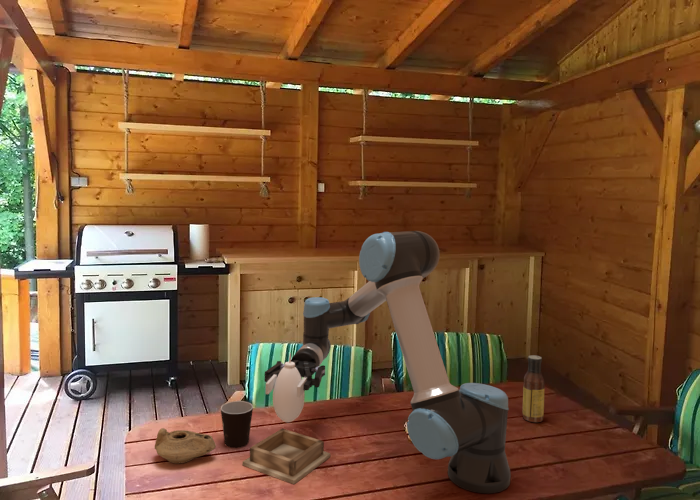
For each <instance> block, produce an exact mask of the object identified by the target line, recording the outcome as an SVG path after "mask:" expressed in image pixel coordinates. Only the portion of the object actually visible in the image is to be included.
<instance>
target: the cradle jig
mask: <svg viewBox="0 0 700 500" xmlns="http://www.w3.org/2000/svg"><path fill="white" fill-rule="evenodd" d="M324 443H325V442H324V440H320V439H318V438H315V437H311V436H308V435H304V434H302V433H299V432H295V431H293V430H288V429H285V428H280V429H279V430H277V431H276V432H274V433H271V434H270V435H269V436H267V437H265V438H263V439H262V440H261V441H259V442H257V443H256V444H254V445H252V446H251V447H249V456H248V458H246V459H245V460H243V461H242V466H243V467H244V468H245V467H246V468H249V469H252V470H253V471H257V472H259V473H262V474H265V475H268V476H269V477H274V478H276V479H278V480H281V481H284V482H286V483H289V484H292V485H295V484H297V483H298V482H299V481H301V480H302V479H303V478H305V477H306V476H307V475H308V474H310V473H311V472H312V471H315V469H316V468H318V467H319V466H320V465H322V464H323V463H324V462H326V461H327V460H329V459H330V458H331V453H330V452H327V451H324V449H325V447H324Z"/></svg>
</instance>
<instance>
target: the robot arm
mask: <svg viewBox="0 0 700 500" xmlns="http://www.w3.org/2000/svg"><path fill="white" fill-rule="evenodd" d="M439 261H440V249H439V245H438V243H437V242H436V240H435V239H434V238H433V237H432V236H431V235H429V234H428V233H426V232H423V231H420V230H410V231H409V230H408V231H394V232H393V231H392V232H390V231H383V232H380V233H374V234H371V235H370V236H368V237H367V238H366V239H365V241H364V242H363V244H362V245H361V249H360V251H359V257H358V264H359V265H358V266H359V270H360V272H361V274H362V276H363V277H364V278H365V280H367V282H366V283H365V284H363V286H361V287H360V288H359V289H357V291H355V292H354V293H353V294H351V296H349V297H348V298H347V299H345V300H342V301H341V300H340V301H335V302H330V300H329V299H328V298H326V297H316V296H315V297H309V298H307V299H306V300H304V303H303V304H304V305H303V312H302V313H303V333H302V346H301V347H300V348H299V349H298V350H297V351H296V352H295V354H293V356H291V362H294V363H295V367H296V368H297V370H298V371H299V373H300V376H301V378H302V381H301V382H300V383H299V385H298V386H297V397H298V398H300V397H301V395H302V394H303V392H304V393H305V391H309V390H310V388H312V387H313V386H314V387H315V388H319V387H320V386H321V382H322V378H323V377H324V376H325V375H326V365H321V364H323V362H324V360H325V359H327V357H328V355H329V354H330V351H331V346H332V344H331V342H330V340H329V331H330V329H333V328H340V327H344V326H351V325H359V324H361V323H365V322H366V321H368V320H369V316H370V314H371V312H373V311H374V310H376V308H378V307H380V306H381V305H383V304H384V303H385V302H386V303H387V304H386V305H387V306H388V310H389V313H390V317H391V319H392V323H393V327H394V331H395V334H396V336H397V341H398V343H399V346H400V351H401V353H402V356H403V361H404V364H405V366H406V369H407V374H408V377H409V380H410V383H411V386H412V387H411V388H412V391H413V396H412V398H411V400H410V406H411V410H412V412H411V413H410V414H409V415H408V418H407V420H408V421H407V423H406V430H407V434H408V436H409V439H410V441H411V442H412V444H413V446H414V447H415V448H416V450H417V451H419V452H420V453H422V454H423V456H425V457H426V458H429V459H432V460H441V459H445V458H448V457H450V459H449V461H448V464H447V475H448V479H449V480H450V481H451V482H452V483H453V484H455V485H456V486H457V487H458V488H459V487H460V488H462V489H464V490H465V491H469V492H473V493H479V494H496V493H499V492H503V491H505V490H506V489H508V487H509V486H510V484H511V475H512V474H511V473H512V472H511V469H510V465H509V462H508V458H507V454H506V438H507V427H508V426H507V425H508V414H509V410H510V408H509V397H508V395H507V394H506V392H505V391H504V390H502V389H500V388H498V387H495V386H492V385H489V384H484V383H478V382H465V383H462V384H461V385H460V387H459V388H458V387H456V386H455V385H453V384H451V383H450V379H449V377H448V373H447V371H446V367H445V364H444V361H443V359H442V358H443V356H442V355H441V352H440V348H439V346H438V342H437V339H436V336H435V333H434V329H433V327H432V323H431V320H430V317H429V314H428V310H427V308H426V305H425V301H424V299H423V296H422V291H421V289H420V284H421V283H422V281H423V279H424V278H426V277H428V276H429V275H430V274H431V273H432V272H433V271H434V270H435V269H436V267H437V266H438V265H439ZM284 364H285V363H283V362H282V361H281V360H277V361H276V363H275V364H274V365H272V366H271V367H270V368H268V369H267V370H266V371H265V370H264V382H265V395H269V394H270V393H271V392H273V390H274V385H275V382H276V379H277V377H278V375H279V373H280V371H281V370H282V368H283V367H284V366H285V365H284ZM314 374H315V376H314V378H313V375H314Z"/></svg>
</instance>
